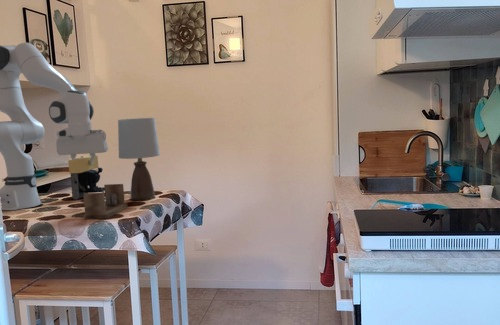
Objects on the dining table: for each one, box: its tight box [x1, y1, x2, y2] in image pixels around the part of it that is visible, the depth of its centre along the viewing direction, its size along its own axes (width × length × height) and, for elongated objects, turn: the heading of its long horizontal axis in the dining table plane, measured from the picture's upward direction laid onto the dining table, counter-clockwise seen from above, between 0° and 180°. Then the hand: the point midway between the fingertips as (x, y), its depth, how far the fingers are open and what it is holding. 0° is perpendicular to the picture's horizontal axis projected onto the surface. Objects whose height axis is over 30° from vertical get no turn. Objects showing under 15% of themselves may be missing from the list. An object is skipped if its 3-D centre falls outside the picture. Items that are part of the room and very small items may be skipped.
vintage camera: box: [70, 156, 105, 200], centre depth 225 cm, size 10×16×20 cm, turn 80°
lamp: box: [117, 117, 161, 201], centre depth 217 cm, size 19×19×37 cm
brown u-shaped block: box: [82, 183, 128, 220], centre depth 190 cm, size 10×20×10 cm, turn 174°
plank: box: [67, 155, 99, 174], centre depth 188 cm, size 4×16×5 cm, turn 173°
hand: (84, 165), depth 188 cm, fingers closed on plank, 4 cm apart
